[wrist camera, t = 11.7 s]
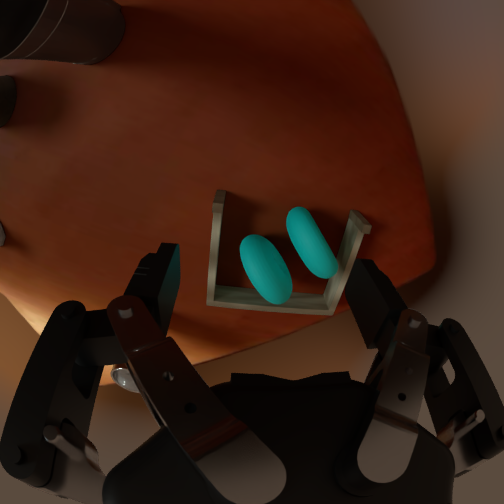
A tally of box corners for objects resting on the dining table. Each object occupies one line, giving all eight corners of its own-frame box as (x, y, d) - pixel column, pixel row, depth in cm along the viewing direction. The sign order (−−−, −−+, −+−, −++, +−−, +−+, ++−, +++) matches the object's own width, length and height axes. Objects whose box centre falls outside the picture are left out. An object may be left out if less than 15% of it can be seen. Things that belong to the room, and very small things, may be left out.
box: (217, 189, 35) (212, 202, 31) (357, 210, 37) (372, 225, 33) (208, 288, 44) (204, 310, 39) (327, 299, 45) (334, 320, 41)
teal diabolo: (236, 230, 39) (233, 269, 30) (297, 192, 36) (314, 222, 27) (273, 277, 43) (279, 322, 34) (329, 246, 40) (350, 285, 32)
